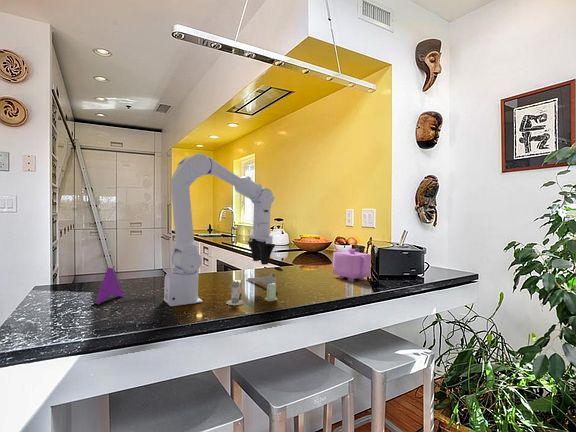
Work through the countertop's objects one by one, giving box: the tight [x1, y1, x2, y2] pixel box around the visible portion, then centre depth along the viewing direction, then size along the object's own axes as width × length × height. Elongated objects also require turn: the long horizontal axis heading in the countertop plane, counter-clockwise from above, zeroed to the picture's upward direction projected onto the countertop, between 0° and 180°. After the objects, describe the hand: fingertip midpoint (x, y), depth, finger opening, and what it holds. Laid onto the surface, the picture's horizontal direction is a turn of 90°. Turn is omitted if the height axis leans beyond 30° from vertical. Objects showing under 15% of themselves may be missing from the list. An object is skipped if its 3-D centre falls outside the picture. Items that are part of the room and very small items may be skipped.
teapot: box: [332, 248, 372, 282], centre depth 142 cm, size 20×10×12 cm, turn 32°
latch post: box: [264, 283, 278, 302], centre depth 105 cm, size 3×2×5 cm
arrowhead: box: [94, 267, 125, 305], centre depth 100 cm, size 10×2×10 cm
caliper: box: [246, 273, 277, 285], centre depth 124 cm, size 20×1×6 cm, turn 35°
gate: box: [234, 278, 243, 300], centre depth 107 cm, size 11×2×4 cm, turn 4°
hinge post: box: [225, 280, 244, 307], centre depth 100 cm, size 5×5×7 cm
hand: (260, 262), depth 115 cm, fingers open, 7 cm apart
